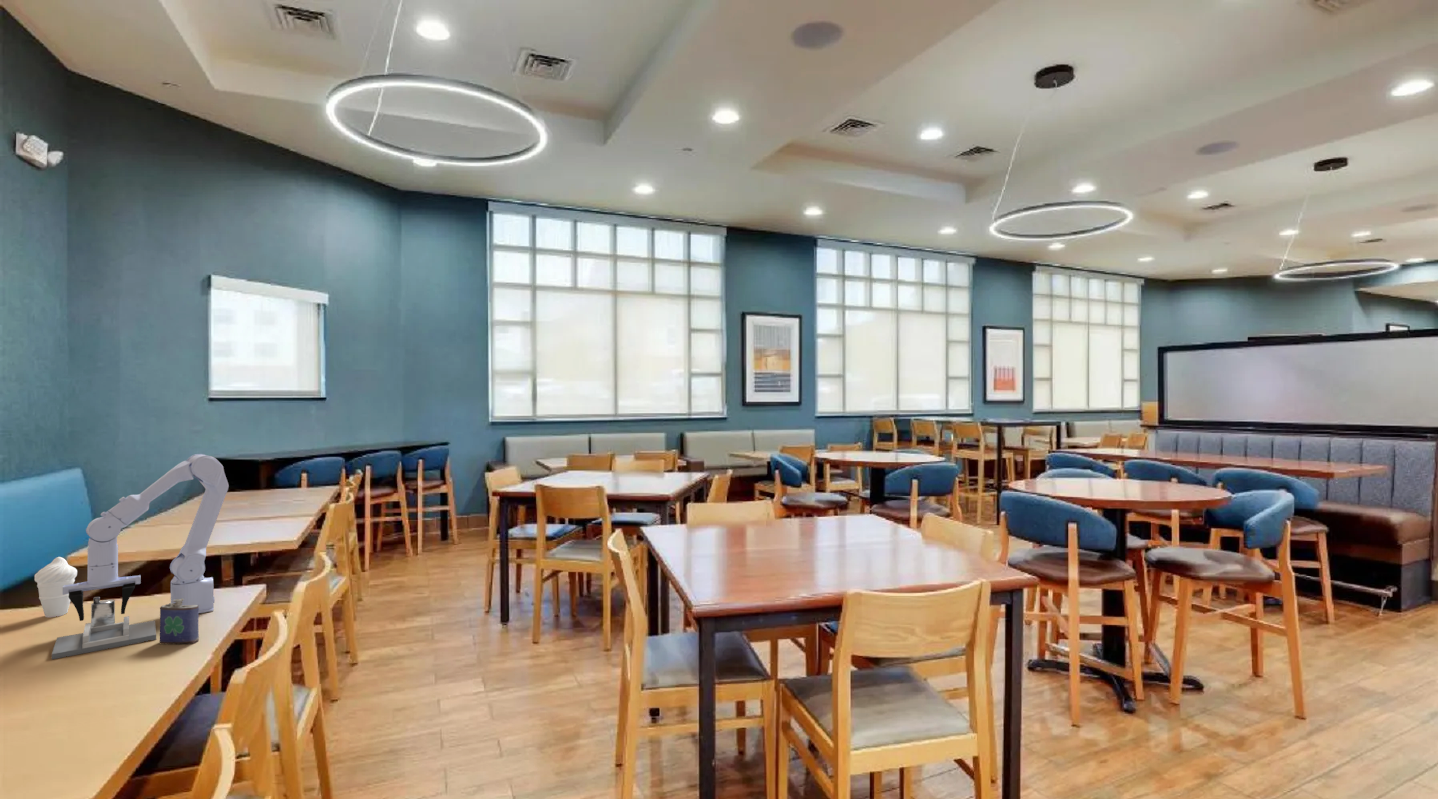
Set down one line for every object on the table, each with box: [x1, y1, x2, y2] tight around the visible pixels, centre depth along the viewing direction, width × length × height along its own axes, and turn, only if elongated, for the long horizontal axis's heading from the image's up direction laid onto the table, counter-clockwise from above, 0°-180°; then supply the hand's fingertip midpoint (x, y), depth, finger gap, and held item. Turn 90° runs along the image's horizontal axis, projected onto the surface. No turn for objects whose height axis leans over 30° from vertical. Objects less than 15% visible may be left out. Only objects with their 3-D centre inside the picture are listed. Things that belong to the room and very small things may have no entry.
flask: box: [159, 598, 200, 645], centre depth 157 cm, size 9×3×11 cm, turn 88°
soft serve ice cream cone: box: [34, 556, 78, 618], centre depth 177 cm, size 8×8×16 cm
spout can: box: [90, 596, 116, 628], centre depth 166 cm, size 4×4×8 cm
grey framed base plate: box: [51, 616, 157, 660], centre depth 158 cm, size 18×14×4 cm
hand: (102, 616), depth 166 cm, fingers open, 7 cm apart
